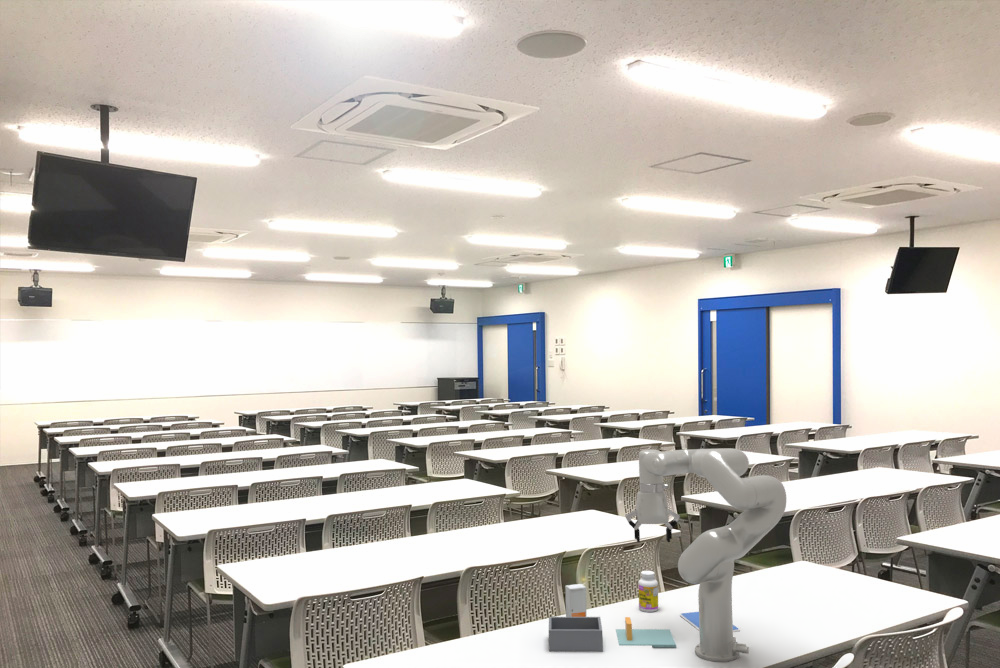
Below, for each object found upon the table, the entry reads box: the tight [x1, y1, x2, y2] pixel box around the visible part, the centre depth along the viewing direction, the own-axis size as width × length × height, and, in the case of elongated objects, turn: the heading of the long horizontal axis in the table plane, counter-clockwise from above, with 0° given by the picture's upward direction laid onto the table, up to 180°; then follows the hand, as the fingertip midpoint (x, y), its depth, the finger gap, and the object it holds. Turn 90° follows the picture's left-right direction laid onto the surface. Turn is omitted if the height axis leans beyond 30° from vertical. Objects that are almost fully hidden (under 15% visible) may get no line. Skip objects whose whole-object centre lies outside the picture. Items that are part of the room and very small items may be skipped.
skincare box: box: [564, 583, 587, 617], centre depth 254 cm, size 6×4×12 cm
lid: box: [615, 616, 677, 648], centre depth 236 cm, size 17×13×6 cm
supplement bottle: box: [638, 570, 659, 613], centre depth 265 cm, size 7×7×13 cm
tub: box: [548, 616, 604, 653], centre depth 233 cm, size 16×12×7 cm
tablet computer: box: [679, 611, 741, 633], centre depth 250 cm, size 19×13×1 cm, turn 12°
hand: (653, 541), depth 246 cm, fingers open, 9 cm apart
